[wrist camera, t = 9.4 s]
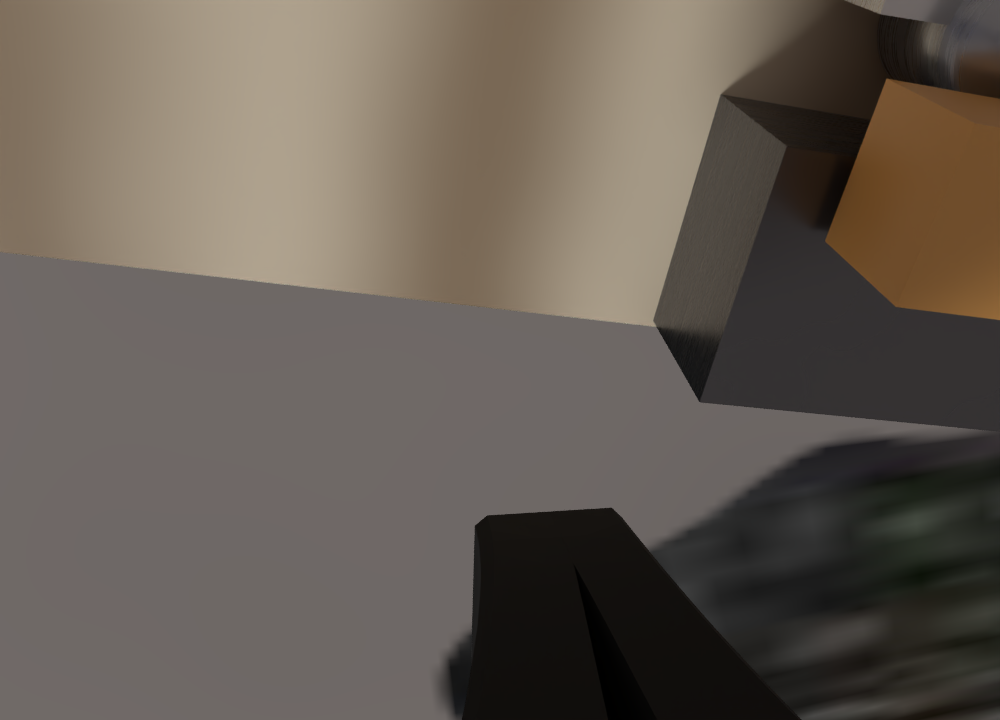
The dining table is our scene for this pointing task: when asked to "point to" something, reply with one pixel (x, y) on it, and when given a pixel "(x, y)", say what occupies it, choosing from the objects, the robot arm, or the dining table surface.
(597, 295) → the board
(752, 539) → the dining table surface
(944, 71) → the bar
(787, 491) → the dining table surface
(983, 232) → the block
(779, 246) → the tongs frame
